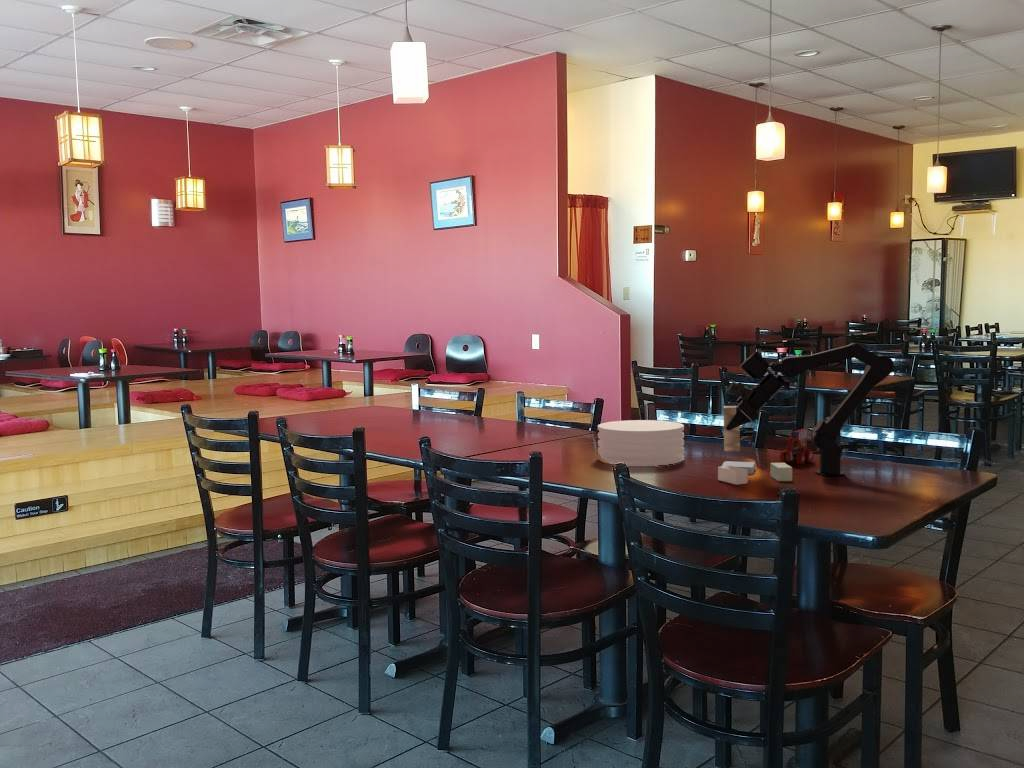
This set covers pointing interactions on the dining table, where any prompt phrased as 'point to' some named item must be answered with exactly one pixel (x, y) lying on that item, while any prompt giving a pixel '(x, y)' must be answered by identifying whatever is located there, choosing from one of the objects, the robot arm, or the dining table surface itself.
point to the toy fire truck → (797, 448)
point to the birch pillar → (734, 434)
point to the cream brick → (733, 474)
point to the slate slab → (742, 465)
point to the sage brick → (781, 471)
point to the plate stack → (641, 442)
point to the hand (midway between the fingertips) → (726, 428)
